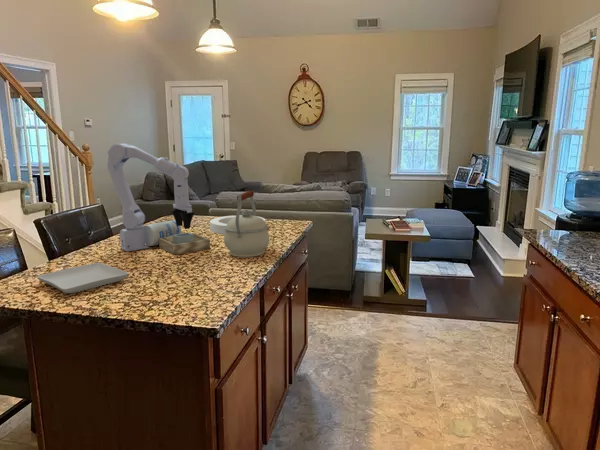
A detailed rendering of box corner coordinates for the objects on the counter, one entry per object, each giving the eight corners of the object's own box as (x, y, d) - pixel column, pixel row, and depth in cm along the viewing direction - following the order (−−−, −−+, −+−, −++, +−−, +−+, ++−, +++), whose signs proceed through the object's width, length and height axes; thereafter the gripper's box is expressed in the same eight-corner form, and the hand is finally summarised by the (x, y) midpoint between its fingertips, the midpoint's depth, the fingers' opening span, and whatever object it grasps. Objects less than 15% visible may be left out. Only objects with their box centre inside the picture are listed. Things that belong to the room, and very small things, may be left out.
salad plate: (99, 269, 161) (98, 260, 161) (131, 282, 148) (130, 272, 147) (36, 285, 145) (34, 275, 145) (65, 300, 132) (64, 289, 131)
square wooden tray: (174, 254, 179) (173, 245, 178) (159, 247, 191) (158, 238, 191) (210, 248, 189) (209, 239, 188) (193, 241, 201) (193, 232, 200)
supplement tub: (185, 234, 199) (157, 241, 188) (175, 243, 205) (147, 250, 194) (176, 215, 201) (148, 221, 189) (166, 225, 207) (138, 231, 195)
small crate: (178, 248, 186) (177, 237, 185) (173, 246, 190) (172, 234, 189) (194, 245, 190) (193, 234, 189) (188, 243, 194) (188, 232, 193)
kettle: (261, 261, 170) (259, 196, 165) (216, 258, 174) (213, 195, 169) (277, 245, 194) (276, 188, 189) (237, 243, 198) (235, 187, 192)
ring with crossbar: (231, 222, 247) (230, 213, 246) (275, 226, 235) (275, 217, 234) (199, 232, 222) (198, 222, 221) (246, 237, 210) (246, 227, 209)
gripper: (198, 196, 183) (199, 228, 185) (183, 192, 194) (184, 223, 196) (182, 197, 178) (183, 231, 181) (167, 194, 189) (169, 225, 192)
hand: (183, 227), depth 188 cm, fingers open, 7 cm apart
